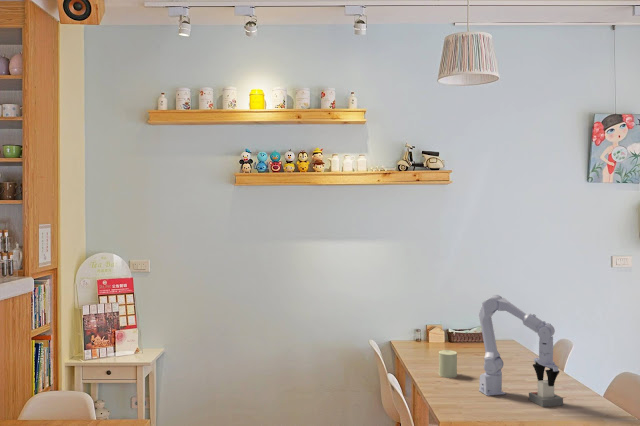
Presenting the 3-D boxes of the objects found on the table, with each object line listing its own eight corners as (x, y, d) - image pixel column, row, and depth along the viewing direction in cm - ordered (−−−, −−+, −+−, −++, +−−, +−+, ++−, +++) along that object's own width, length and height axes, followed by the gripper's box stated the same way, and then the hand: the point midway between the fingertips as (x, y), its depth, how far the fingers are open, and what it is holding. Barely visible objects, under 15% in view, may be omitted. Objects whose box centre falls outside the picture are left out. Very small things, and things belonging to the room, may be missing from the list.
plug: (554, 401, 258) (554, 382, 258) (543, 402, 257) (543, 383, 257) (548, 398, 262) (548, 379, 262) (537, 399, 261) (537, 380, 260)
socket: (563, 405, 256) (563, 397, 256) (542, 407, 253) (542, 399, 253) (548, 397, 265) (548, 390, 265) (528, 399, 263) (528, 392, 263)
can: (454, 372, 305) (454, 349, 304) (459, 377, 295) (459, 353, 295) (436, 372, 304) (436, 349, 304) (440, 377, 295) (440, 353, 295)
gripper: (564, 355, 253) (564, 387, 253) (543, 347, 267) (543, 377, 267) (550, 357, 251) (549, 389, 251) (530, 348, 265) (529, 378, 265)
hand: (545, 383), depth 259 cm, fingers open, 7 cm apart
